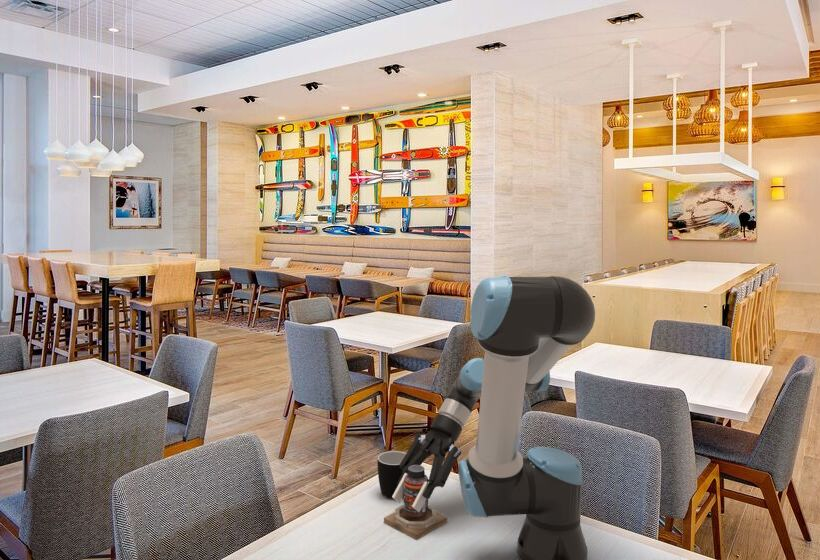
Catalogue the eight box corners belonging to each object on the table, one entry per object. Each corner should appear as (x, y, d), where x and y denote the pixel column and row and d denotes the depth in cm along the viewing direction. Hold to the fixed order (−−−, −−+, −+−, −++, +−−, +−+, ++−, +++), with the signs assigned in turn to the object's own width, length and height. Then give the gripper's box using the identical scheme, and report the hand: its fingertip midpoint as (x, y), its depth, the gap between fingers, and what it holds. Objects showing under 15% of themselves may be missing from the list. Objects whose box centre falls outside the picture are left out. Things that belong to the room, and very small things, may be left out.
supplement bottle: (399, 515, 141) (399, 470, 140) (409, 504, 146) (409, 461, 145) (422, 520, 139) (422, 475, 137) (431, 508, 144) (431, 465, 143)
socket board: (447, 521, 143) (447, 512, 143) (416, 539, 135) (416, 530, 135) (414, 506, 150) (414, 497, 150) (383, 522, 142) (383, 513, 142)
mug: (407, 503, 152) (407, 466, 151) (373, 499, 154) (373, 463, 153) (415, 482, 164) (415, 447, 163) (384, 479, 165) (384, 445, 164)
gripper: (486, 437, 145) (442, 525, 135) (429, 419, 158) (385, 497, 148) (473, 422, 141) (427, 512, 131) (416, 404, 154) (370, 484, 144)
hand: (405, 504), depth 139 cm, fingers closed on supplement bottle, 6 cm apart
